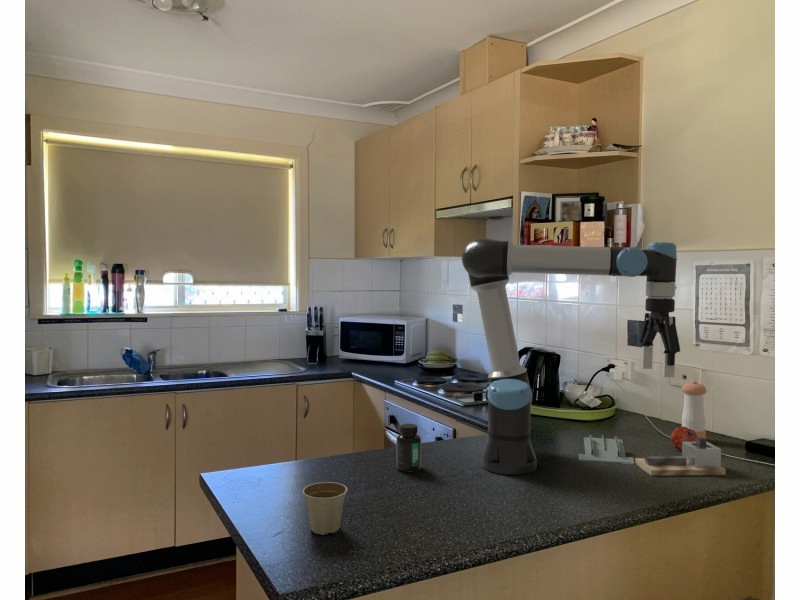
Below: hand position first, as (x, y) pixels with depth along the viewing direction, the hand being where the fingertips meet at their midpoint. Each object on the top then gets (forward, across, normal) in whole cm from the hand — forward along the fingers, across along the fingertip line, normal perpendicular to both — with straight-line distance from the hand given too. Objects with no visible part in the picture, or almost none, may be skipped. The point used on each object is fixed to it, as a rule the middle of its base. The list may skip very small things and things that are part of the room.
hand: (657, 372), depth 166 cm
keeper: (+25, -6, -4) cm, 27 cm away
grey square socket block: (+24, -6, -10) cm, 27 cm away
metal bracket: (+26, +6, +12) cm, 30 cm away
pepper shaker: (+25, +21, -22) cm, 39 cm away
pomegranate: (+26, +11, -14) cm, 31 cm away
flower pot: (+27, -42, +89) cm, 102 cm away
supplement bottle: (+27, -4, +70) cm, 75 cm away
